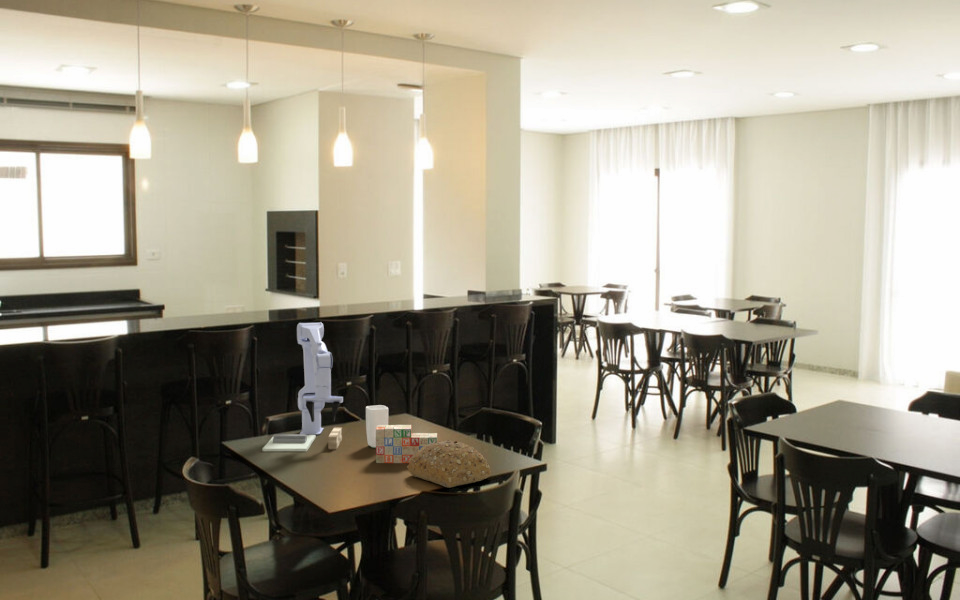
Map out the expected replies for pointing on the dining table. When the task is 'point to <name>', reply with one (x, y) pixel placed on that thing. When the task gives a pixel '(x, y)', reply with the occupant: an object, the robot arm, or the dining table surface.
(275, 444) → the fulcrum stand
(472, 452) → the bread
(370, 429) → the cup
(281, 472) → the dining table surface
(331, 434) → the beech rod
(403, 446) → the stack of blocks
